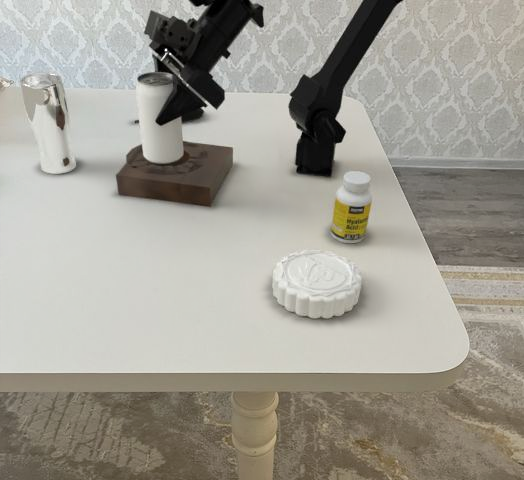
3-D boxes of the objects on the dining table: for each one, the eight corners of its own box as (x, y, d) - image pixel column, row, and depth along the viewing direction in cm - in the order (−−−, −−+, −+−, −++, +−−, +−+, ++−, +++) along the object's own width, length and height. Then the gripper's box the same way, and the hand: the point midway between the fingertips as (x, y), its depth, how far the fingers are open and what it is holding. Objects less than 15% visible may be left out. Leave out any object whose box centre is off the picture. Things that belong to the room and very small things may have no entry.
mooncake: (253, 292, 81) (254, 270, 78) (308, 257, 87) (310, 236, 85) (323, 332, 75) (326, 310, 72) (376, 291, 82) (380, 270, 79)
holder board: (233, 165, 109) (233, 146, 107) (210, 207, 97) (209, 187, 95) (144, 154, 111) (142, 135, 109) (112, 193, 99) (109, 174, 97)
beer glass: (68, 177, 103) (50, 88, 93) (31, 172, 104) (10, 84, 94) (85, 160, 108) (70, 74, 98) (49, 156, 109) (31, 70, 99)
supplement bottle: (342, 247, 90) (351, 188, 83) (323, 230, 93) (331, 172, 87) (371, 239, 92) (383, 181, 85) (352, 223, 95) (361, 165, 89)
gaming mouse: (131, 116, 124) (129, 97, 121) (198, 109, 129) (198, 90, 126) (138, 128, 120) (136, 108, 117) (208, 120, 124) (207, 100, 122)
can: (191, 158, 95) (186, 80, 86) (154, 168, 92) (145, 88, 84) (172, 144, 99) (165, 68, 90) (136, 153, 96) (126, 75, 88)
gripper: (155, -26, 87) (93, 62, 91) (200, 4, 75) (125, 104, 78) (208, 28, 95) (148, 107, 99) (255, 63, 82) (186, 152, 86)
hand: (151, 116), depth 90 cm, fingers closed on can, 6 cm apart
